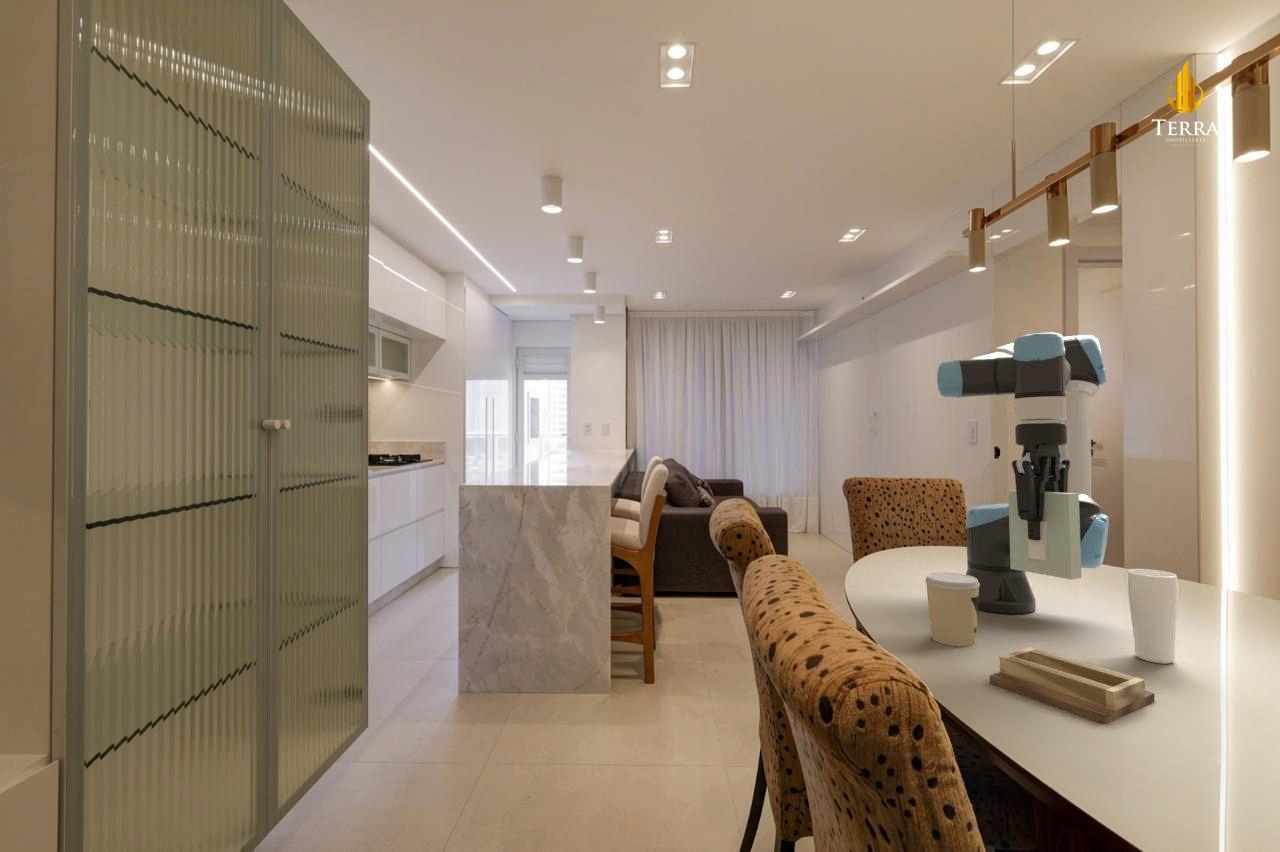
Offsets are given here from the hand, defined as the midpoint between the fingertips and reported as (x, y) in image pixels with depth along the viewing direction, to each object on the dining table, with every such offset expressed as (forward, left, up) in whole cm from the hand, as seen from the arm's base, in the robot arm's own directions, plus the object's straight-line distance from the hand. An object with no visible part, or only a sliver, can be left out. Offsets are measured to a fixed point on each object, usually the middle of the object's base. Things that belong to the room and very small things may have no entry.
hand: (1044, 557), depth 105 cm
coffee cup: (+3, -16, -18) cm, 24 cm away
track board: (+10, +8, -18) cm, 22 cm away
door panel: (0, 0, -3) cm, 3 cm away
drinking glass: (-17, +8, -18) cm, 27 cm away
